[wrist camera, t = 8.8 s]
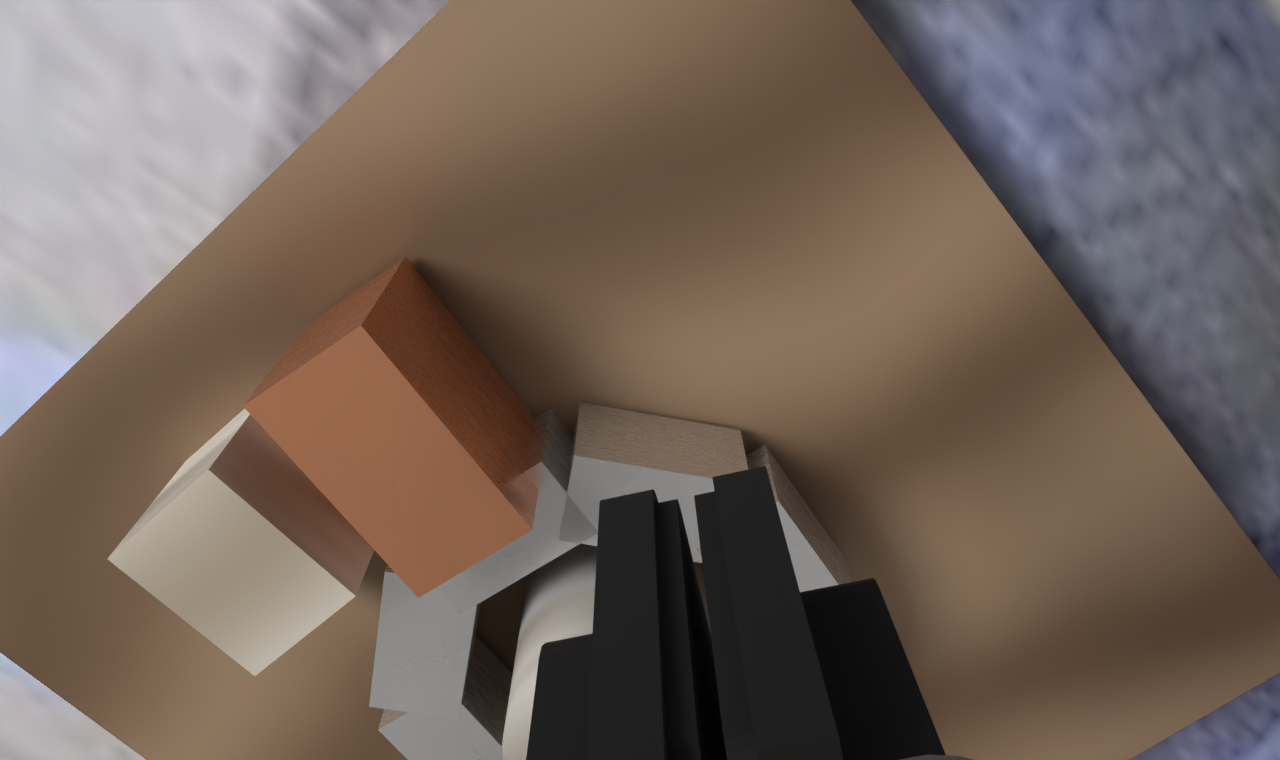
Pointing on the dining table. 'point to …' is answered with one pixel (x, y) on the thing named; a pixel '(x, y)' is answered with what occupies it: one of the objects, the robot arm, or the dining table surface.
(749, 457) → the segmented ring with arms
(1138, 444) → the base
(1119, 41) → the dining table surface
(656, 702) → the robot arm
